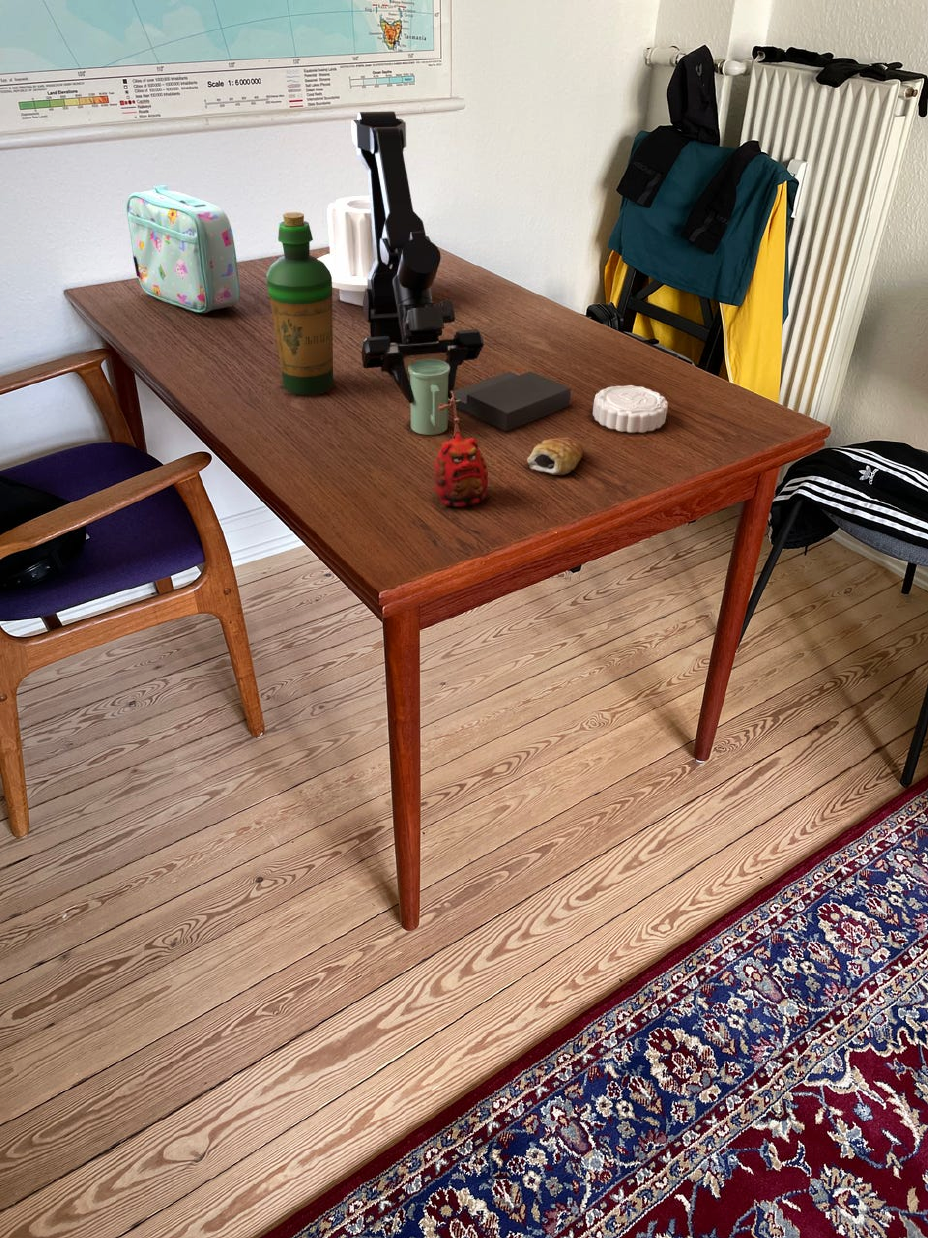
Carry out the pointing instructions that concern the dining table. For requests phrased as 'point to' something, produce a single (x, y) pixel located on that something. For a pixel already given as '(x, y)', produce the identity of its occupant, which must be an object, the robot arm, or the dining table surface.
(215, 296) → the lunch box
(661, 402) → the mooncake
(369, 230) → the ribbed cylinder on disc
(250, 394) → the dining table surface
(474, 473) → the red clay folk toy
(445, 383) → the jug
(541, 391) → the step shelf
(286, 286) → the bottle
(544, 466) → the pastry
